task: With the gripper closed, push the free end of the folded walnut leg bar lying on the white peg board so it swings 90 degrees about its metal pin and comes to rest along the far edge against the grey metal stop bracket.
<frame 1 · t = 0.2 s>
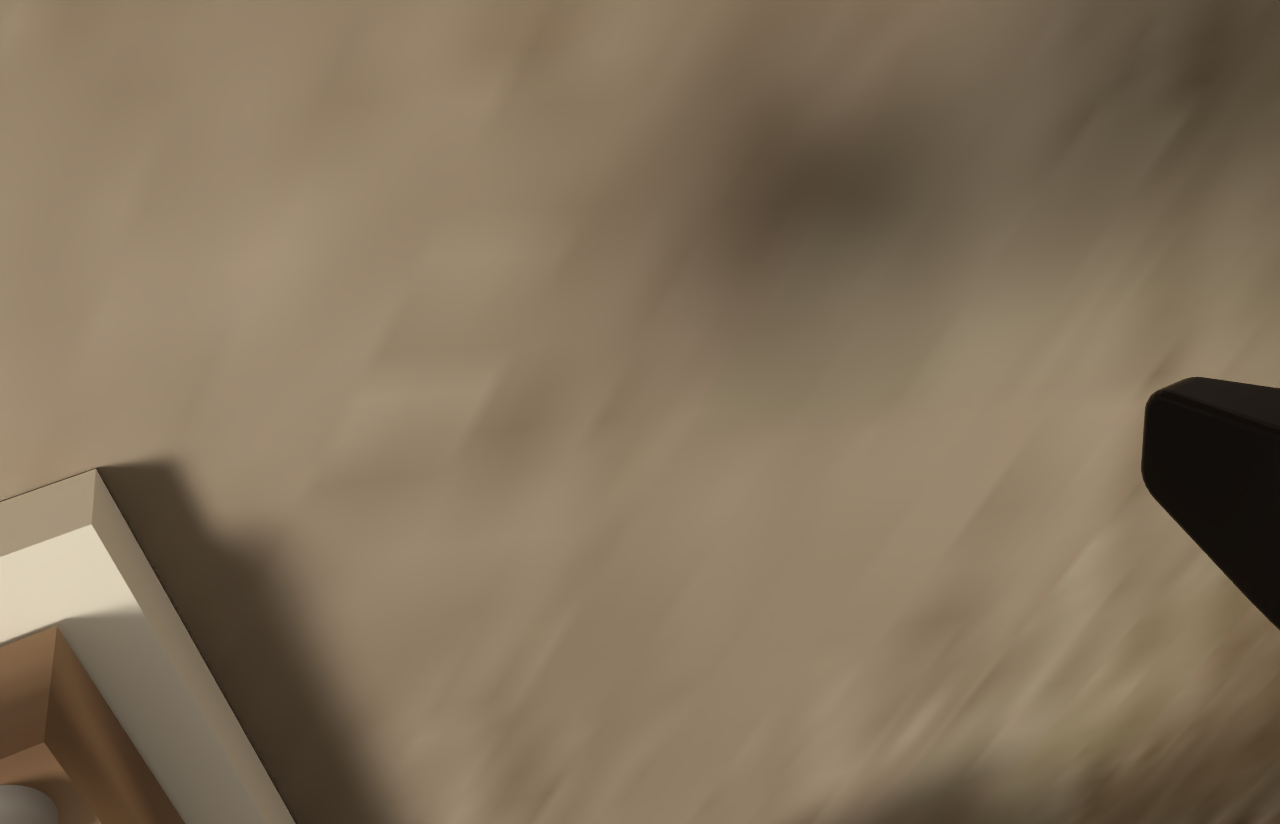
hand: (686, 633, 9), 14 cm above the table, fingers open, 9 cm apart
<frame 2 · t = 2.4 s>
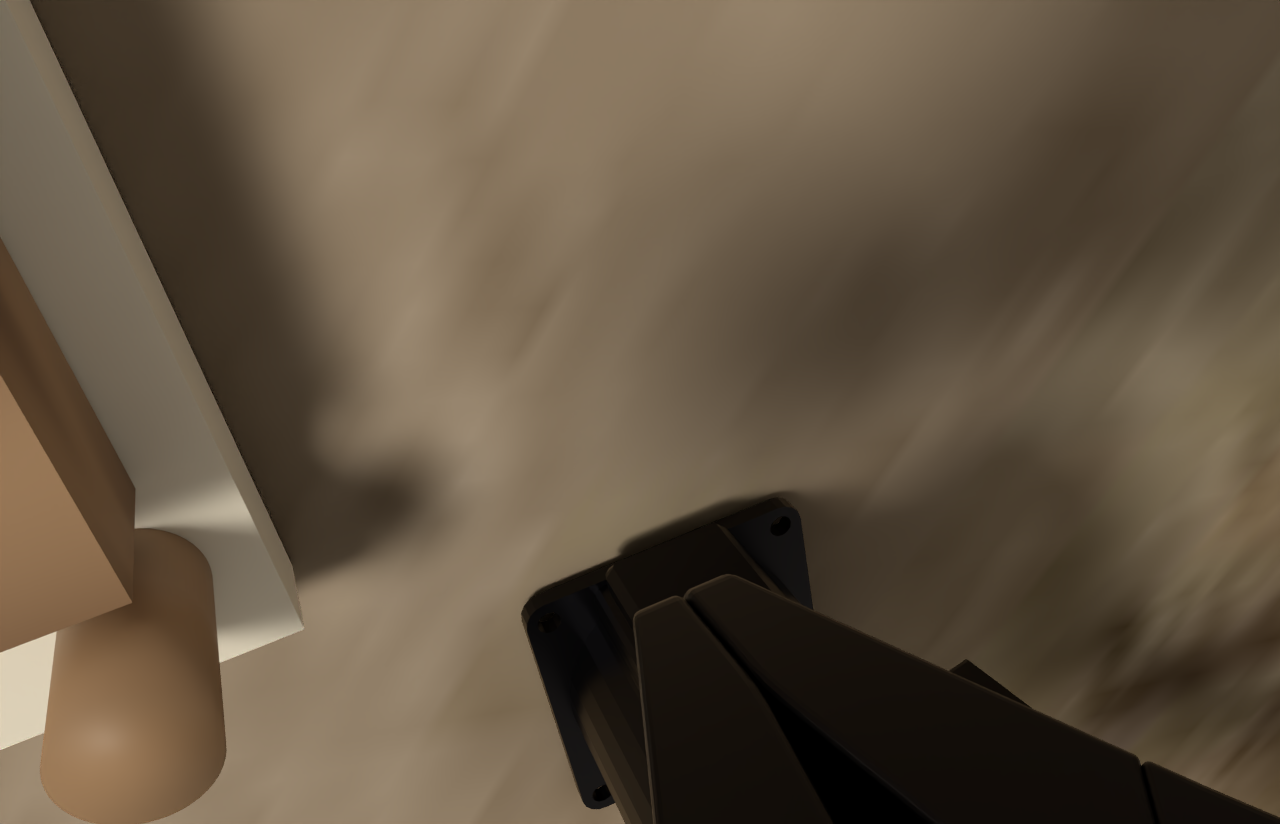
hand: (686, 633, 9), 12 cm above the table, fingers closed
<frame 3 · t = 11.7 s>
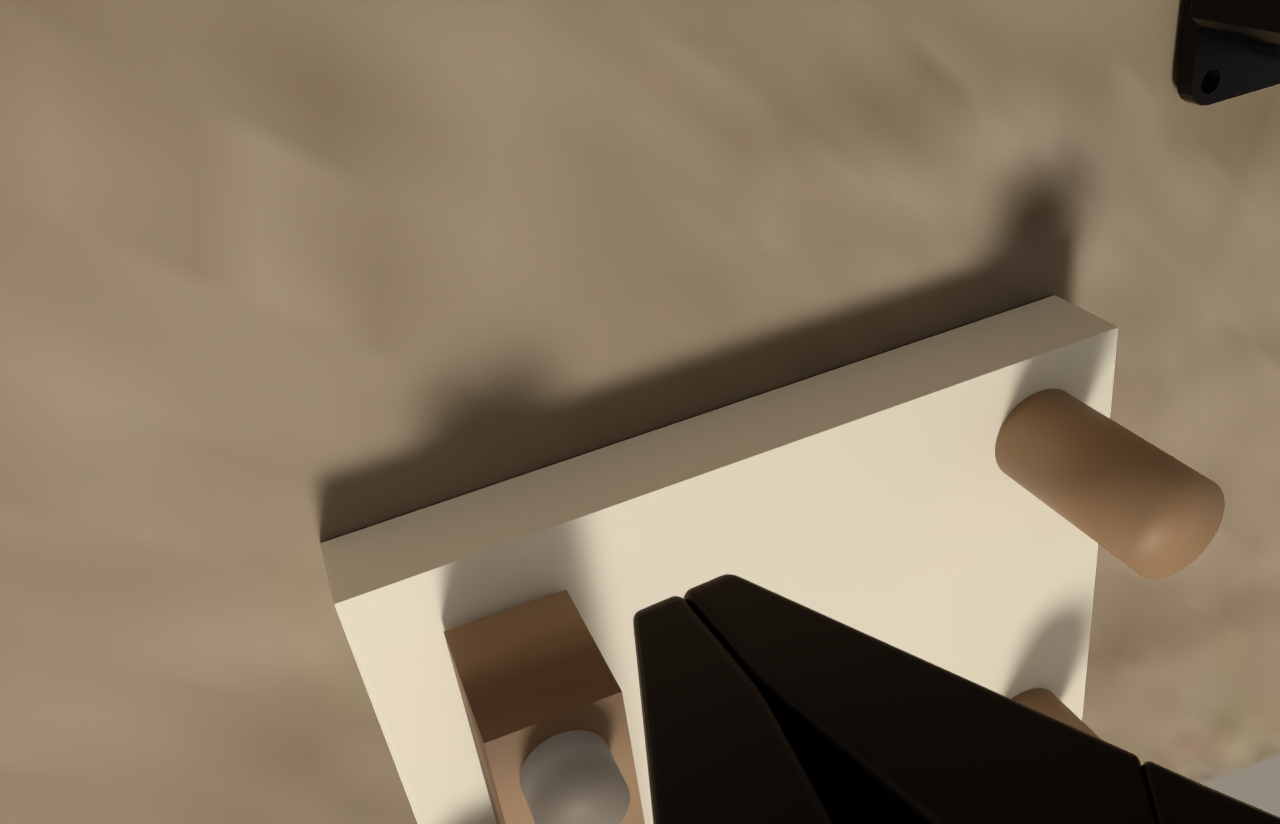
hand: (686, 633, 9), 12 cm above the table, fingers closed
white peg board: (749, 636, 26), on the table
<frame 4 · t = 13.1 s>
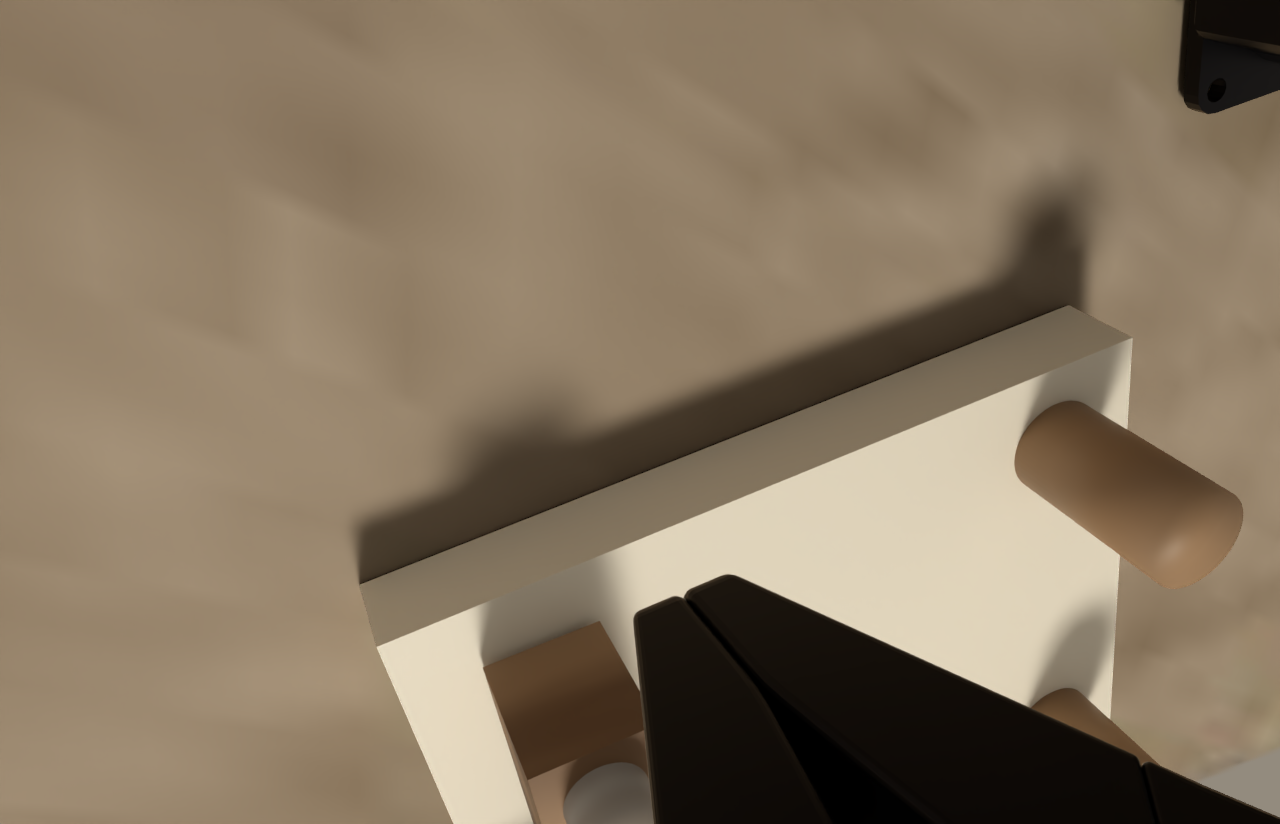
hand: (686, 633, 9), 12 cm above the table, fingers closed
white peg board: (779, 650, 27), on the table
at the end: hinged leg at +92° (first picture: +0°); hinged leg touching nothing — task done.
